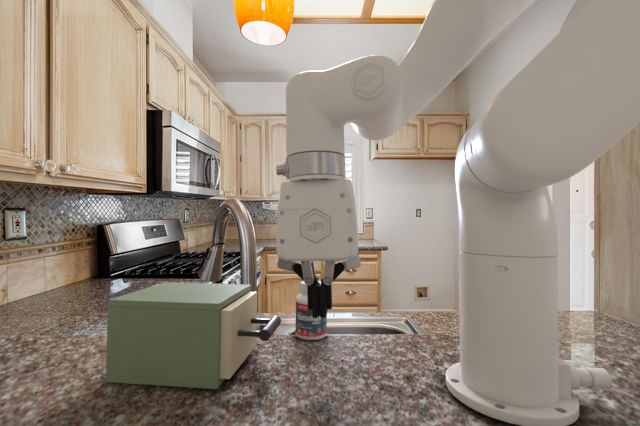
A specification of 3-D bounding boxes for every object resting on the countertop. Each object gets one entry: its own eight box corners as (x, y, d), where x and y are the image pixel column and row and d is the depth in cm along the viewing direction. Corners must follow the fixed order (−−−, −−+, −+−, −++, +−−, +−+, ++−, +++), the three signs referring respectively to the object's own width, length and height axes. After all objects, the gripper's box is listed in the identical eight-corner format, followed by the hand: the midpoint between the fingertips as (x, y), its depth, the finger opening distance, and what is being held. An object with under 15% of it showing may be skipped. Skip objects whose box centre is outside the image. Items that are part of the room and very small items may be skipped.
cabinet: (250, 349, 48) (251, 284, 48) (217, 389, 36) (218, 303, 36) (163, 345, 49) (165, 282, 49) (105, 382, 37) (107, 299, 38)
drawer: (284, 346, 46) (284, 292, 47) (264, 381, 36) (265, 312, 36) (175, 341, 48) (177, 289, 48) (127, 373, 38) (129, 306, 38)
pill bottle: (292, 339, 52) (292, 284, 52) (298, 329, 57) (299, 279, 57) (324, 341, 51) (325, 285, 51) (328, 331, 56) (328, 280, 56)
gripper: (251, 169, 39) (254, 324, 38) (376, 164, 37) (382, 324, 36) (267, 179, 46) (270, 307, 45) (372, 174, 45) (377, 307, 44)
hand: (320, 314), depth 41 cm, fingers closed
